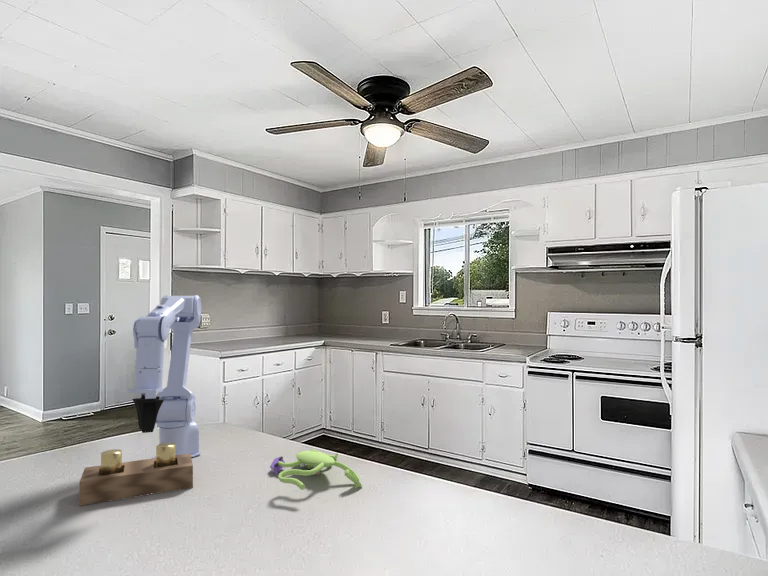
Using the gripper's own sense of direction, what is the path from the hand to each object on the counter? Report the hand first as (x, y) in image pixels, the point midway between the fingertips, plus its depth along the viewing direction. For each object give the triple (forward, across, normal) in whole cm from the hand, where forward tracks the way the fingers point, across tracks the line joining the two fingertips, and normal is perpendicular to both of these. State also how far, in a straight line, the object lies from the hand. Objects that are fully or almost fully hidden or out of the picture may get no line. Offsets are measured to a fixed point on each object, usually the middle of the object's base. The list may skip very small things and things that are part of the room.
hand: (146, 430), depth 109 cm
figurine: (+14, +10, +36) cm, 40 cm away
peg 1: (+9, -4, -6) cm, 12 cm away
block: (+13, -4, 0) cm, 14 cm away
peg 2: (+9, -3, +5) cm, 10 cm away
